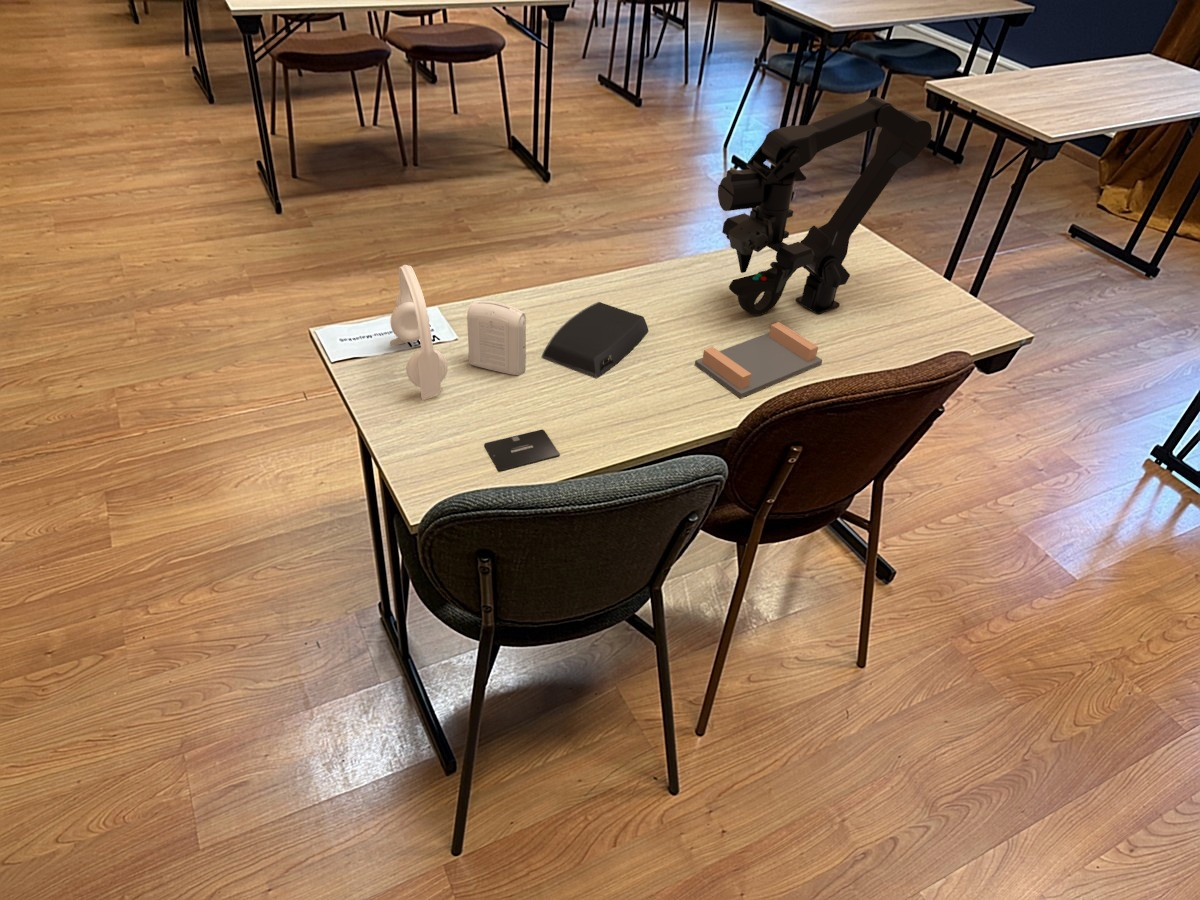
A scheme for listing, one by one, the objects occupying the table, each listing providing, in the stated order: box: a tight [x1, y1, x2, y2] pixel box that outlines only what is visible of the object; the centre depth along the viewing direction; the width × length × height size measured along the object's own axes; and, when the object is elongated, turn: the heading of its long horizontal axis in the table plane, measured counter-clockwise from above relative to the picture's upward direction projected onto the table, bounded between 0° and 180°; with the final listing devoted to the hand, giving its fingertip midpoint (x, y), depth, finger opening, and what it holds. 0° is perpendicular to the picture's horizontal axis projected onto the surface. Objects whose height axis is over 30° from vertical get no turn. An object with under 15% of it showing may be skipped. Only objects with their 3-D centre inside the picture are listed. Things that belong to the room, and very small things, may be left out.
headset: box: [389, 264, 449, 401], centre depth 139 cm, size 20×7×18 cm, turn 20°
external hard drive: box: [541, 301, 649, 379], centre depth 153 cm, size 13×19×4 cm
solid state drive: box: [483, 429, 561, 473], centre depth 129 cm, size 7×10×1 cm
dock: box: [694, 321, 823, 399], centre depth 150 cm, size 20×12×4 cm, turn 125°
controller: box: [728, 261, 787, 316], centre depth 162 cm, size 4×12×10 cm, turn 119°
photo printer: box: [466, 300, 527, 376], centre depth 143 cm, size 10×4×12 cm, turn 72°
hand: (759, 282), depth 161 cm, fingers open, 9 cm apart
